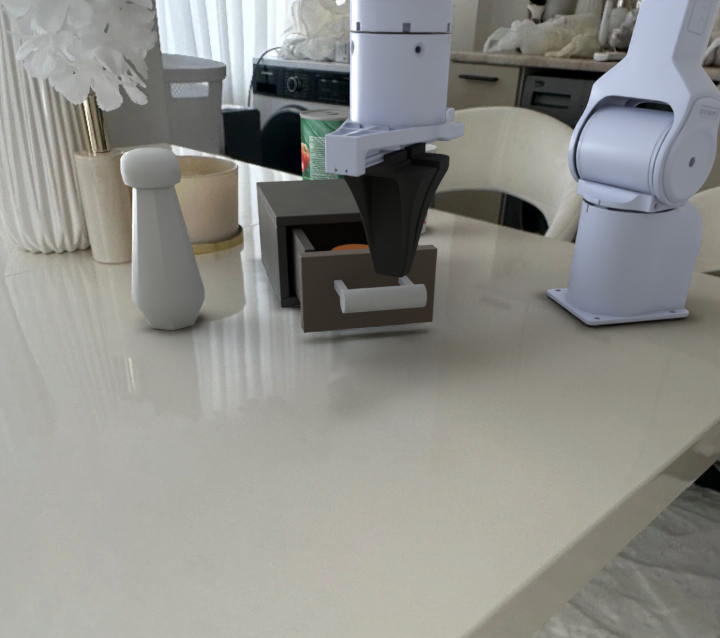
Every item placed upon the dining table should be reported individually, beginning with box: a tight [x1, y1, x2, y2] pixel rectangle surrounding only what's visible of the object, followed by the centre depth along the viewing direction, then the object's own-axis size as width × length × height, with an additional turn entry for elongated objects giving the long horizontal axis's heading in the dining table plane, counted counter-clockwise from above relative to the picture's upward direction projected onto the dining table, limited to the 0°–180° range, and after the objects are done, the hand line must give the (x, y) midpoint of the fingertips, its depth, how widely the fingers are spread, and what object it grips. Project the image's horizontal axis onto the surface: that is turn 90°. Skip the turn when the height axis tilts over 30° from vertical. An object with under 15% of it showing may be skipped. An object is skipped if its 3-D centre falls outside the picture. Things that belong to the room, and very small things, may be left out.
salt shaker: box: [120, 147, 206, 331], centre depth 55 cm, size 6×6×13 cm
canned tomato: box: [299, 108, 350, 180], centre depth 88 cm, size 8×8×11 cm
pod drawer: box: [286, 222, 438, 334], centre depth 57 cm, size 17×10×6 cm, turn 14°
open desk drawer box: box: [255, 179, 363, 308], centre depth 66 cm, size 14×12×8 cm
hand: (392, 273), depth 48 cm, fingers closed
